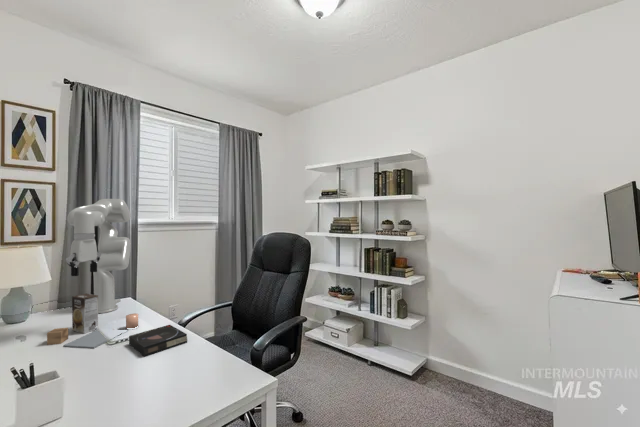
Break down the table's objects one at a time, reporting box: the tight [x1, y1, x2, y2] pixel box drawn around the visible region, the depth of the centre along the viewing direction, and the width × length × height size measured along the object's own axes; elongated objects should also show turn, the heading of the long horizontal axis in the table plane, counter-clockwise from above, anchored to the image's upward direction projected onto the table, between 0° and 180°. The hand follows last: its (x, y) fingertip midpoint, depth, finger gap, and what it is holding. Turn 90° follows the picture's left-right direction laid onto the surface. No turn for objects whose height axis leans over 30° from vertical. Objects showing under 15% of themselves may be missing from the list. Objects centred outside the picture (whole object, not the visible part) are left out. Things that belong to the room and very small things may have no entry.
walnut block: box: [46, 327, 69, 346], centre depth 128 cm, size 5×5×5 cm
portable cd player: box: [128, 324, 188, 357], centre depth 126 cm, size 16×17×4 cm
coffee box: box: [71, 293, 99, 334], centre depth 141 cm, size 9×6×16 cm
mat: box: [63, 329, 107, 349], centre depth 131 cm, size 18×14×1 cm
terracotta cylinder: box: [125, 313, 139, 329], centre depth 143 cm, size 5×5×6 cm
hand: (84, 273), depth 140 cm, fingers open, 9 cm apart
